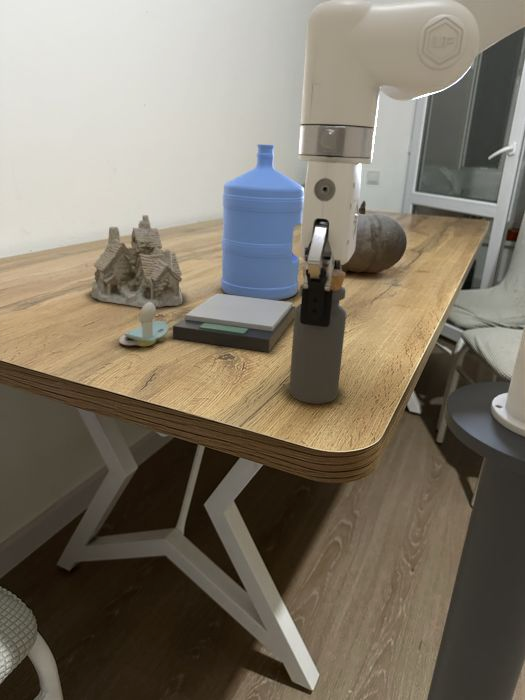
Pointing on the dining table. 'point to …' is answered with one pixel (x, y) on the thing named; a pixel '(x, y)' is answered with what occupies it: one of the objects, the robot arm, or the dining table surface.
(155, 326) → the pacifier
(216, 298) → the scale
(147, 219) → the ceramic cottage
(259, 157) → the water jug
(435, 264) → the dining table surface
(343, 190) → the robot arm
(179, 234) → the dining table surface
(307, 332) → the bottle
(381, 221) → the gourd
